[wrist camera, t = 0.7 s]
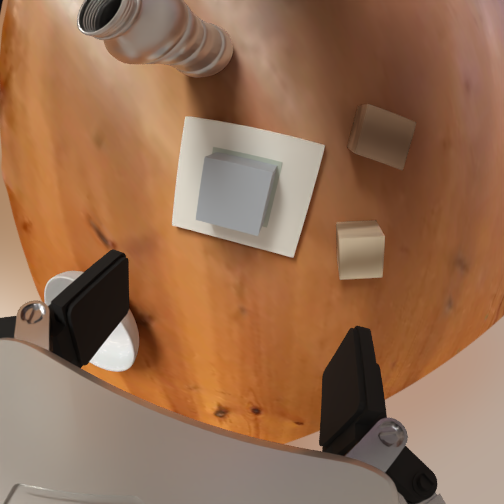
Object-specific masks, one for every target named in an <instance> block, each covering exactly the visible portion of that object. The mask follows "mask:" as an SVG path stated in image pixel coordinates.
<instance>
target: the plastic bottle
mask: <svg viewBox="0 0 504 504" xmlns="http://www.w3.org/2000/svg"><path fill="white" fill-rule="evenodd" d="M77 25H78V28H79V30H80V31H81V32H82V33H84V34H85V35H89V36H93V37H95V38H97V39H100V40H104V43H105V46H106V49H107V50H108V52H109V53H110V54H111V55H112V56H113V57H115V58H116V59H117V60H119V61H121V62H123V63H127V64H165V65H170V66H172V67H174V68H176V69H177V70H179V71H180V72H182V73H183V74H185V75H187V76H190V77H196V78H200V77H208V76H211V75H214V74H216V73H218V72H220V71H221V70H223V69H224V68H225V67H226V66H227V64H228V63H229V62H230V60H231V57H232V54H233V43H232V41H231V38H230V36H229V34H228V33H227V32H226V31H225V30H224V29H223V28H221V27H219V26H217V25H214V24H211V23H207V22H205V21H203V20H201V19H200V18H198V16H196V15H195V14H194V13H193V12H192V11H191V10H190V8H189V7H188V6H187V4H186V3H185V2H184V1H183V0H85V1H84V2H83V4H82V6H81V8H80V10H79V13H78V17H77Z"/></svg>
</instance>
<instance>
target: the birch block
mask: <svg viewBox="0 0 504 504" xmlns="http://www.w3.org/2000/svg"><path fill="white" fill-rule="evenodd" d="M336 240H337V263H338V270H339V278H340V280H343V279H362V278H380V277H382V276H383V262H384V245H385V236H384V234H383V232H382V230H381V228H380V227H379V225H378V223H377V221H376V220H371V221H349V222H336Z"/></svg>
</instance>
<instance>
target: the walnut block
mask: <svg viewBox="0 0 504 504" xmlns="http://www.w3.org/2000/svg"><path fill="white" fill-rule="evenodd" d="M415 126H416V122H414V121H412V120H409V119H407V118H405V117H402V116H400V115H397V114H395V113H392V112H389V111H387V110H384V109H382V108H379V107H376V106H373V105H370V104H364V105H359V106H358V107H357V111H356V115H355V119H354V122H353V126H352V130H351V134H350V138H349V141H348V145H347V148H349V149H350V150H351V151H352V152H353V153H355V154H357V155H360V156H363V157H366V158H369V159H372V160H375V161H378V162H381V163H384V164H386V165H389V166H392V167H395V168H397V169H400V170H402V171H403V168H404V164H405V161H406V158H407V155H408V151H409V148H410V144H411V141H412V137H413V133H414V130H415Z"/></svg>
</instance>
